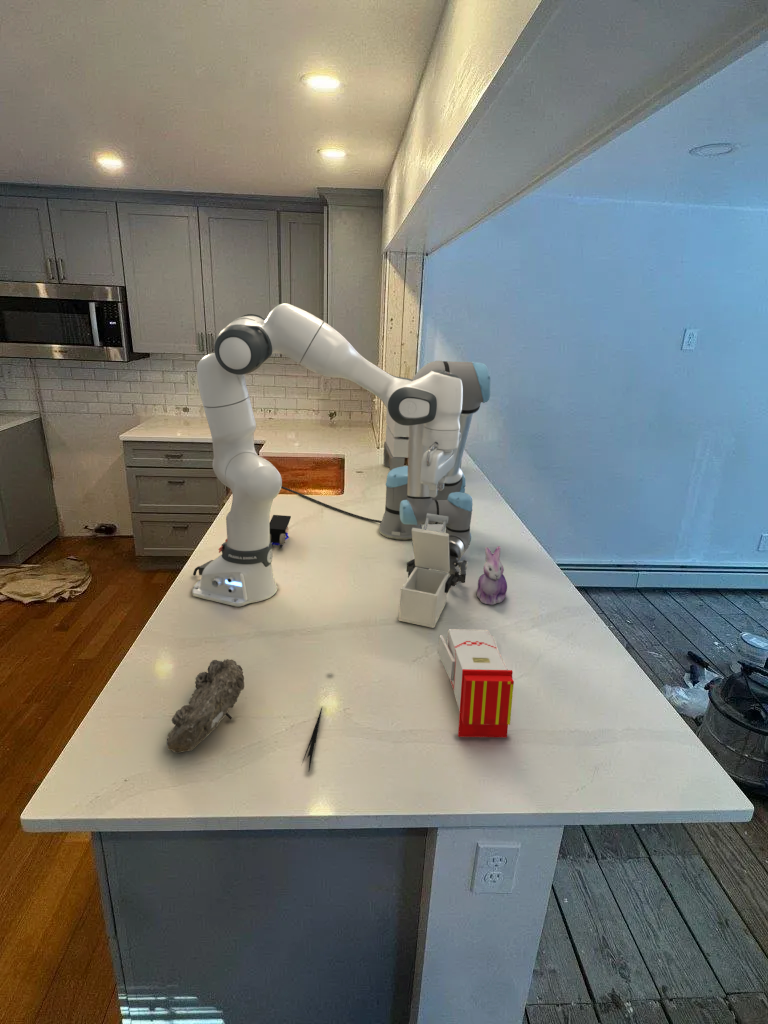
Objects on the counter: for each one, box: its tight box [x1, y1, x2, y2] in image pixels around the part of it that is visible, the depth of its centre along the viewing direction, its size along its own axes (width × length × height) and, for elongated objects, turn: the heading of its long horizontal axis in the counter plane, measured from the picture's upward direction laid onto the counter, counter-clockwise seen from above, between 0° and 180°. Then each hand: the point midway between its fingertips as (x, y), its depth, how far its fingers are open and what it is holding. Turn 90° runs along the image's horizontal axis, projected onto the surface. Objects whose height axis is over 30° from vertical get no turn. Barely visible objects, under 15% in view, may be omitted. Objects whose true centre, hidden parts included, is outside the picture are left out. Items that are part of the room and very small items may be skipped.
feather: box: [301, 673, 332, 771], centre depth 108 cm, size 2×28×2 cm
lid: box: [411, 513, 450, 573], centre depth 149 cm, size 15×9×9 cm
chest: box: [397, 567, 450, 629], centre depth 148 cm, size 14×9×9 cm, turn 162°
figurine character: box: [269, 514, 292, 550], centre depth 187 cm, size 7×8×15 cm
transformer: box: [383, 408, 463, 471], centre depth 268 cm, size 34×33×41 cm
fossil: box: [166, 658, 245, 754], centre depth 106 cm, size 22×10×15 cm
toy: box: [437, 628, 515, 738], centre depth 117 cm, size 12×13×30 cm
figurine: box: [476, 545, 508, 605], centre depth 155 cm, size 9×10×15 cm
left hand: (436, 493), depth 143 cm, fingers open, 5 cm apart
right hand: (427, 584), depth 150 cm, fingers closed on chest, 9 cm apart
